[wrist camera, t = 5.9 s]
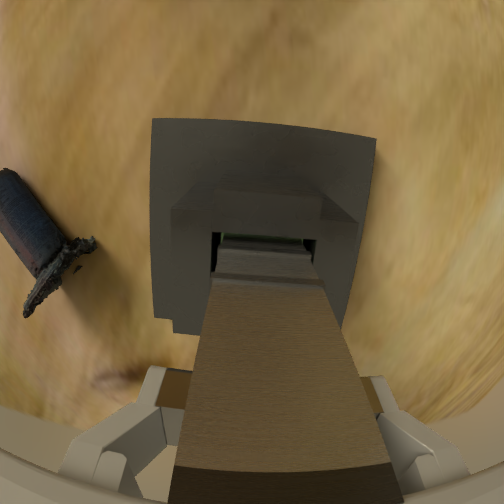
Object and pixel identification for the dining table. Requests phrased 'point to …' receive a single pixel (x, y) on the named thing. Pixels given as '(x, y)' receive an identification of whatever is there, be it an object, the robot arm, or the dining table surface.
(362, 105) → the dining table surface
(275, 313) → the column
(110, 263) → the dining table surface
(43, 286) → the dark flanged cylinder
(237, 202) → the stand
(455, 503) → the robot arm
